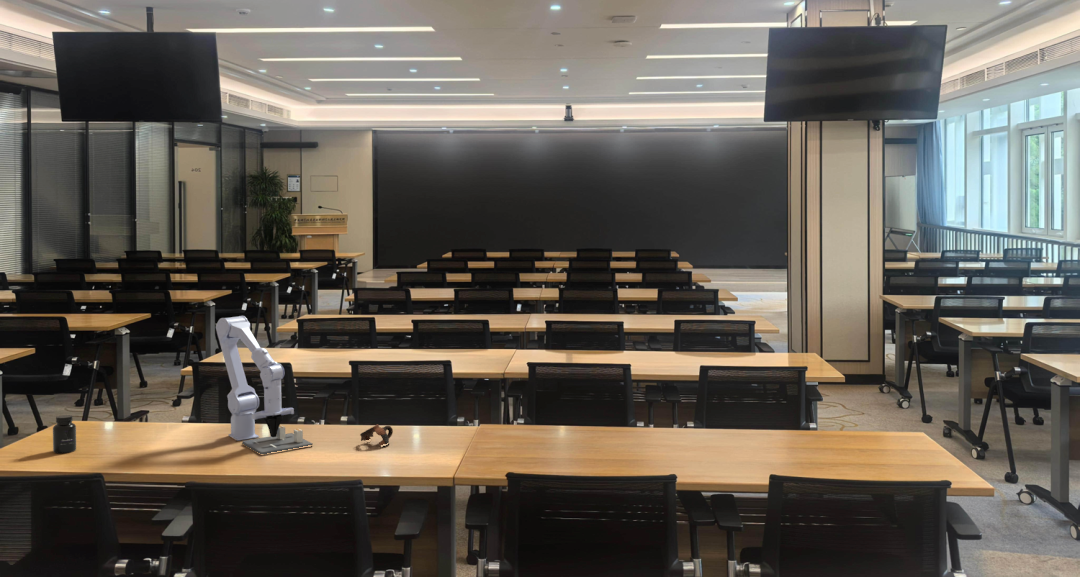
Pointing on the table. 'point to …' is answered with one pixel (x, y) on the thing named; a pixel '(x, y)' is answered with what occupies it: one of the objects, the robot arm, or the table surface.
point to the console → (274, 444)
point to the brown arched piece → (379, 431)
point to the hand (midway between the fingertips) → (273, 436)
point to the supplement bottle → (64, 435)
